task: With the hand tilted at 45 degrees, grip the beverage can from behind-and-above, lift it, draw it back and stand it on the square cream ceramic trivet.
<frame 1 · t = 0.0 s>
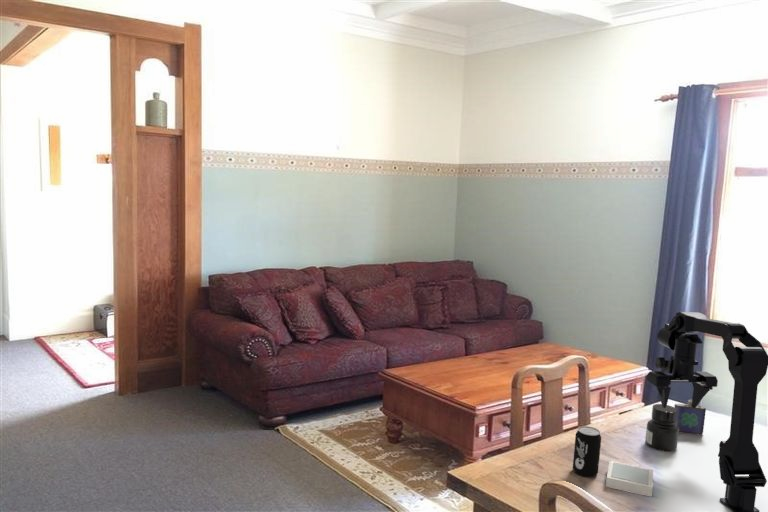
hand: (678, 407, 184), 15 cm above the table, tool pointing down, fingers open, 9 cm apart
beverage can: (584, 473, 173), on the table
ink bottle: (660, 446, 192), on the table
trivet: (629, 482, 168), on the table
flask: (686, 432, 204), on the table
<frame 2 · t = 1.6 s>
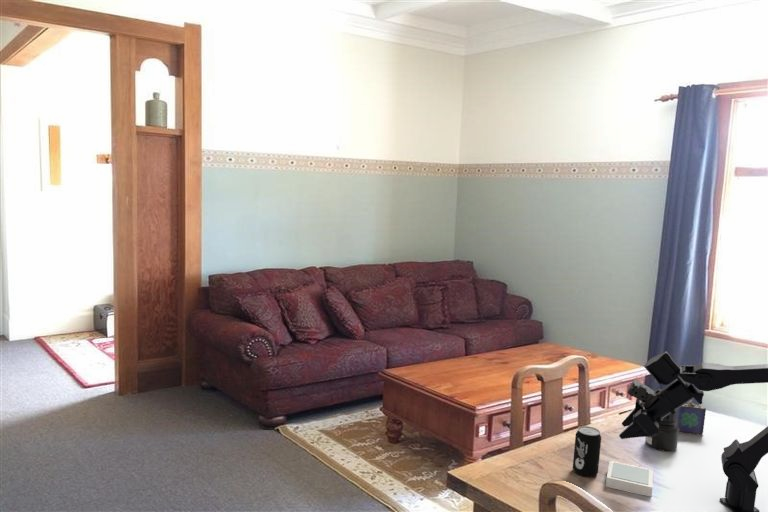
hand: (621, 430, 168), 13 cm above the table, tool tilted 45°, fingers open, 9 cm apart
nothing on the table moved.
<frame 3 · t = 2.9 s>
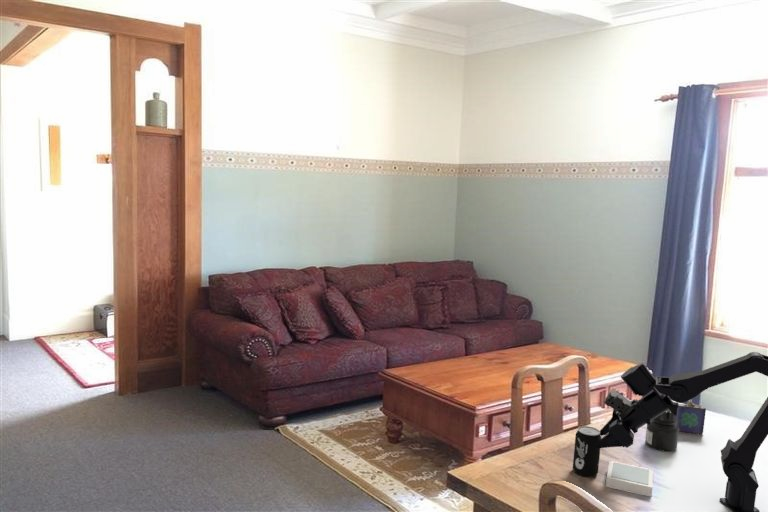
hand: (598, 440, 170), 10 cm above the table, tool tilted 45°, fingers open, 9 cm apart
nothing on the table moved.
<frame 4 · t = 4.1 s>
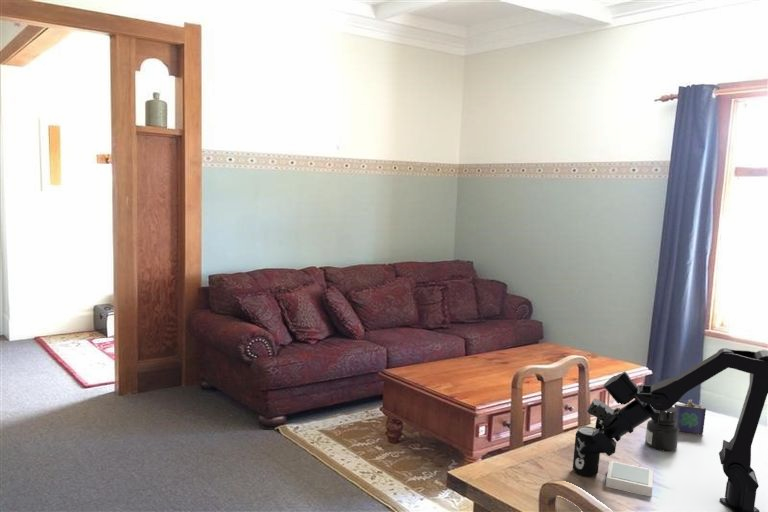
hand: (581, 448, 172), 7 cm above the table, tool tilted 45°, fingers closed on beverage can, 6 cm apart
beverage can: (584, 473, 173), on the table, touching gripper
everything else where it was.
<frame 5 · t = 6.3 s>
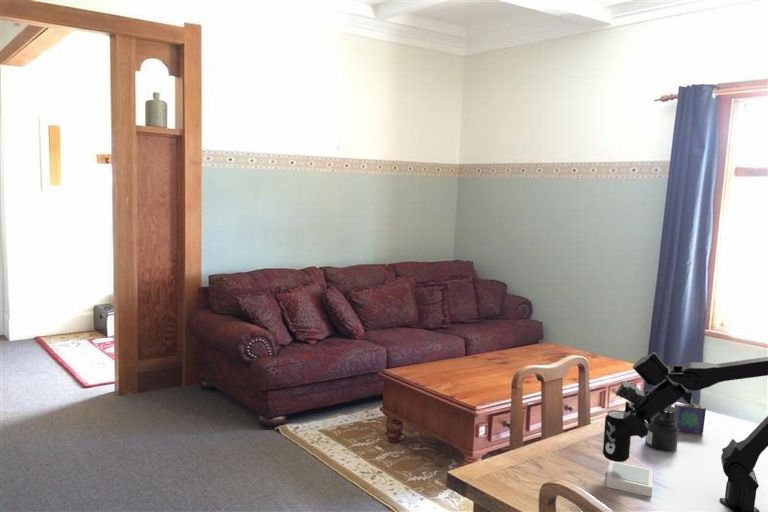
hand: (612, 432, 169), 13 cm above the table, tool tilted 45°, fingers closed on beverage can, 6 cm apart
beverage can: (615, 458, 169), point 6 cm above the table, touching gripper
everything else where it was.
when the fingers open (10 cm above the table, at t = 8.0 s): beverage can stays where it is, resting on trivet.
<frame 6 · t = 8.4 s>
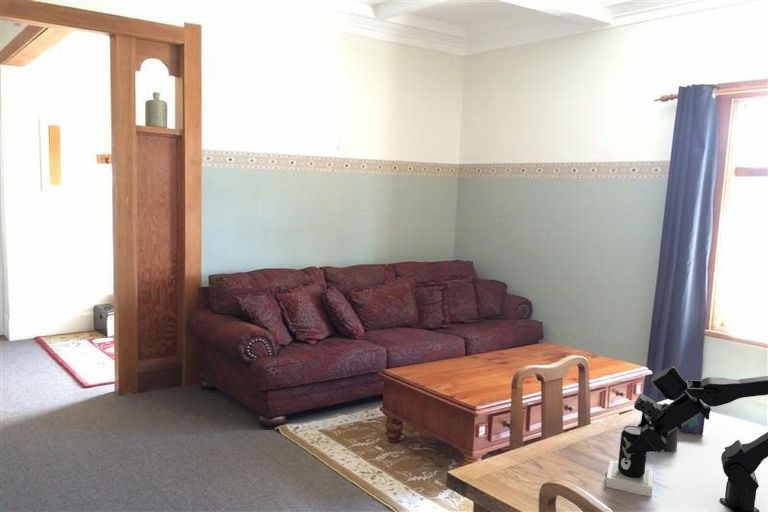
hand: (627, 445, 167), 10 cm above the table, tool tilted 45°, fingers open, 9 cm apart
beverage can: (630, 473, 168), point 2 cm above the table, touching trivet
everything else where it was.
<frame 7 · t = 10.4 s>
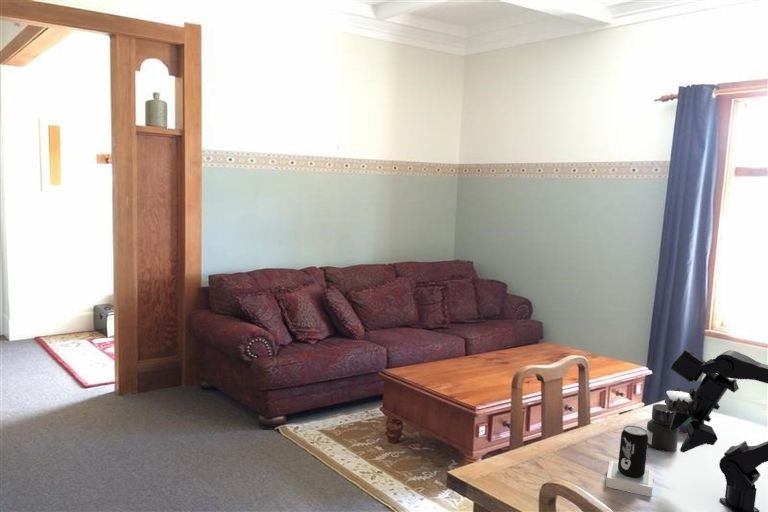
hand: (676, 440, 167), 12 cm above the table, tool tilted 25°, fingers open, 9 cm apart
nothing on the table moved.
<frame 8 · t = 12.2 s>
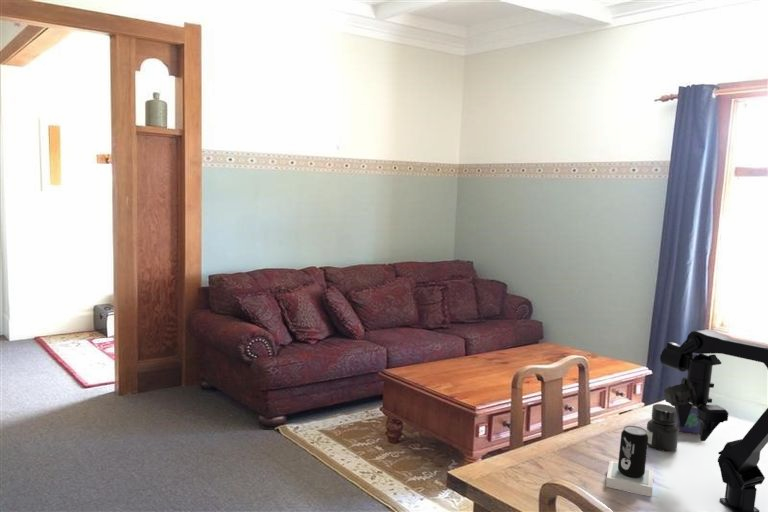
hand: (692, 433, 169), 13 cm above the table, tool pointing down, fingers open, 9 cm apart
nothing on the table moved.
at the end: beverage can inside the target area on the trivet (0.1 cm from its centre), point 2.5 cm above the trivet's base; beverage can tilted 0°; the gripper is holding nothing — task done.
